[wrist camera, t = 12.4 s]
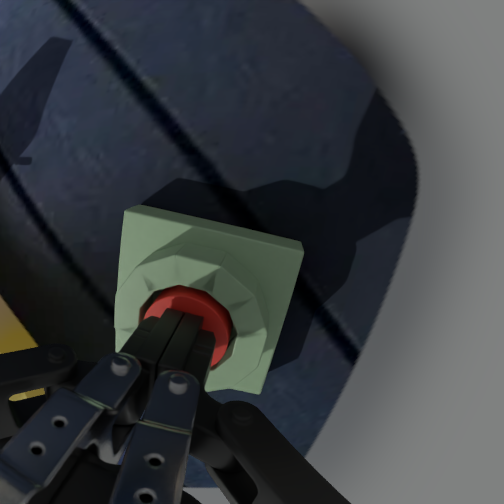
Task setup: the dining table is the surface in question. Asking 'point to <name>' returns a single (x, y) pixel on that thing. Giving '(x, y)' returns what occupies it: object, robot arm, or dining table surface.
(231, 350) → the button box
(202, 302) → the button
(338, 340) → the dining table surface
